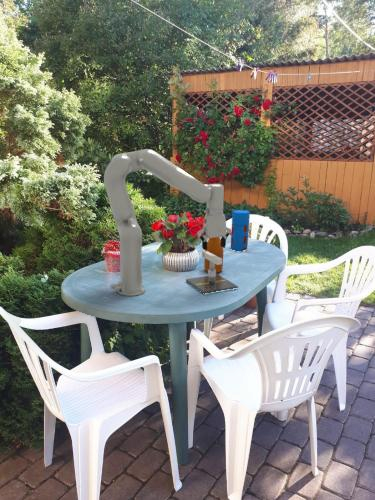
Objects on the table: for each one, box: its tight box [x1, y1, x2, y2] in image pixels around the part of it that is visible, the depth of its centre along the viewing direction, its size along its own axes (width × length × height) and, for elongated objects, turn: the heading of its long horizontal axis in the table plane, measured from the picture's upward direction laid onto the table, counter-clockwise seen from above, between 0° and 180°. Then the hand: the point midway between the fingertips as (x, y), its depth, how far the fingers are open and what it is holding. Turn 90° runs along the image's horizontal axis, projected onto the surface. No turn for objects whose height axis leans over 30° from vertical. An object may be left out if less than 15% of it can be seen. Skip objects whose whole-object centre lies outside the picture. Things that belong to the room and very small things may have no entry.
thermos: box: [230, 209, 251, 252], centre depth 239 cm, size 11×11×25 cm
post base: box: [185, 269, 239, 294], centre depth 177 cm, size 18×18×8 cm
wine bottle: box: [203, 237, 224, 274], centre depth 195 cm, size 10×10×30 cm
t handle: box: [201, 250, 222, 270], centre depth 175 cm, size 3×14×7 cm, turn 26°
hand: (213, 248), depth 173 cm, fingers open, 9 cm apart
